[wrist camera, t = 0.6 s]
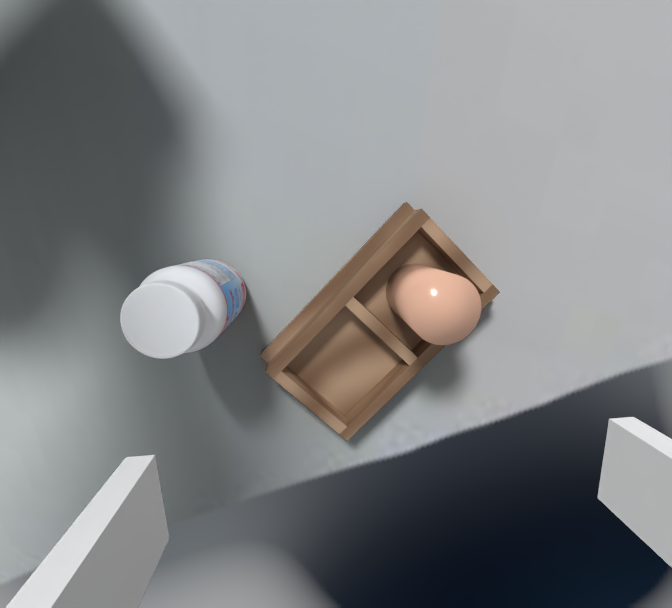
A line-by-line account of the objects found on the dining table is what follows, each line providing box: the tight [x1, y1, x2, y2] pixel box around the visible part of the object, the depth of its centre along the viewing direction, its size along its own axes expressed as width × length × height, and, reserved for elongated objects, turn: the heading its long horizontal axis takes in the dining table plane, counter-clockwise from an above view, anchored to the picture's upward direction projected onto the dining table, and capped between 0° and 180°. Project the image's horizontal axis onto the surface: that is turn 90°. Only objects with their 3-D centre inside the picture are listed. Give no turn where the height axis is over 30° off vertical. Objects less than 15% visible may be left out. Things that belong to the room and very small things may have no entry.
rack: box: [260, 202, 500, 441], centre depth 31 cm, size 12×19×3 cm, turn 136°
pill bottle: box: [120, 259, 246, 359], centre depth 26 cm, size 6×6×11 cm
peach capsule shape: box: [386, 263, 481, 345], centre depth 28 cm, size 5×5×8 cm
